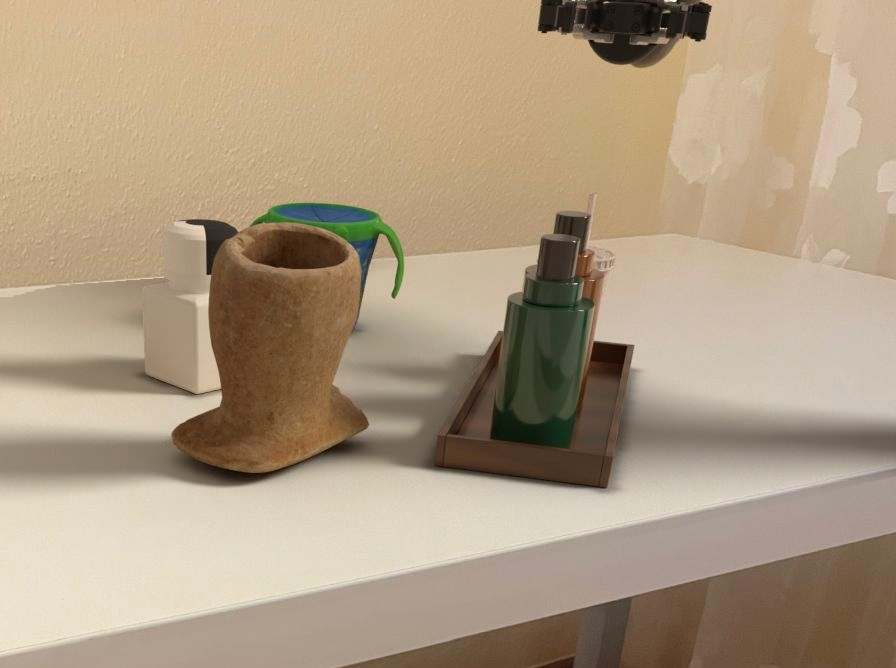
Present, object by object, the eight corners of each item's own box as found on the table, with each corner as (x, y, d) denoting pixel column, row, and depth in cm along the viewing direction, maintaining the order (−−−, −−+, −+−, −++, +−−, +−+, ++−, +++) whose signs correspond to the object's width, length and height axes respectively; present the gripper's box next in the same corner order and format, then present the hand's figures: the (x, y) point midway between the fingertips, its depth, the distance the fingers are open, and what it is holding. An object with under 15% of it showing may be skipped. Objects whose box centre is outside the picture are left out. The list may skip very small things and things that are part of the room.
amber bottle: (597, 407, 96) (631, 216, 88) (551, 421, 93) (582, 224, 84) (538, 389, 99) (566, 204, 91) (491, 402, 96) (516, 211, 88)
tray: (495, 355, 110) (498, 330, 109) (629, 369, 107) (634, 344, 106) (434, 465, 85) (437, 435, 84) (607, 488, 83) (613, 456, 82)
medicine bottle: (209, 361, 105) (207, 211, 98) (262, 380, 101) (265, 225, 94) (143, 375, 101) (137, 219, 94) (196, 395, 97) (194, 234, 90)
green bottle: (587, 446, 88) (624, 240, 80) (536, 463, 85) (569, 249, 77) (523, 425, 92) (552, 225, 83) (472, 440, 88) (497, 234, 80)
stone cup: (277, 503, 78) (283, 257, 70) (149, 458, 84) (141, 226, 76) (410, 448, 88) (430, 226, 79) (287, 411, 94) (294, 201, 85)
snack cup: (411, 324, 118) (421, 211, 112) (379, 349, 110) (387, 229, 104) (265, 305, 122) (267, 195, 117) (223, 328, 114) (223, 211, 108)
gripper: (559, -38, 110) (539, -39, 97) (718, -31, 107) (720, -32, 94) (546, 57, 114) (526, 68, 102) (699, 66, 112) (698, 78, 99)
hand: (619, 20), depth 98 cm, fingers open, 8 cm apart
